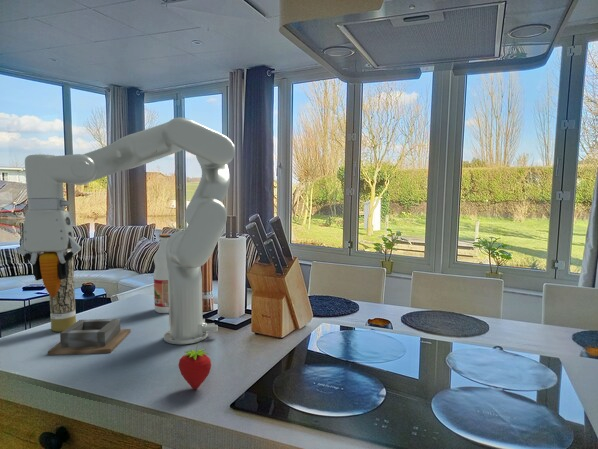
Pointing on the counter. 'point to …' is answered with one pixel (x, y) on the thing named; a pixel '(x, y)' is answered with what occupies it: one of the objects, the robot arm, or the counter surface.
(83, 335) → the docking stand
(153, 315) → the counter surface
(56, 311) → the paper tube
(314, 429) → the counter surface
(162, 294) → the fruit juice
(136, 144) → the robot arm
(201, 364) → the strawberry
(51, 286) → the carrot
